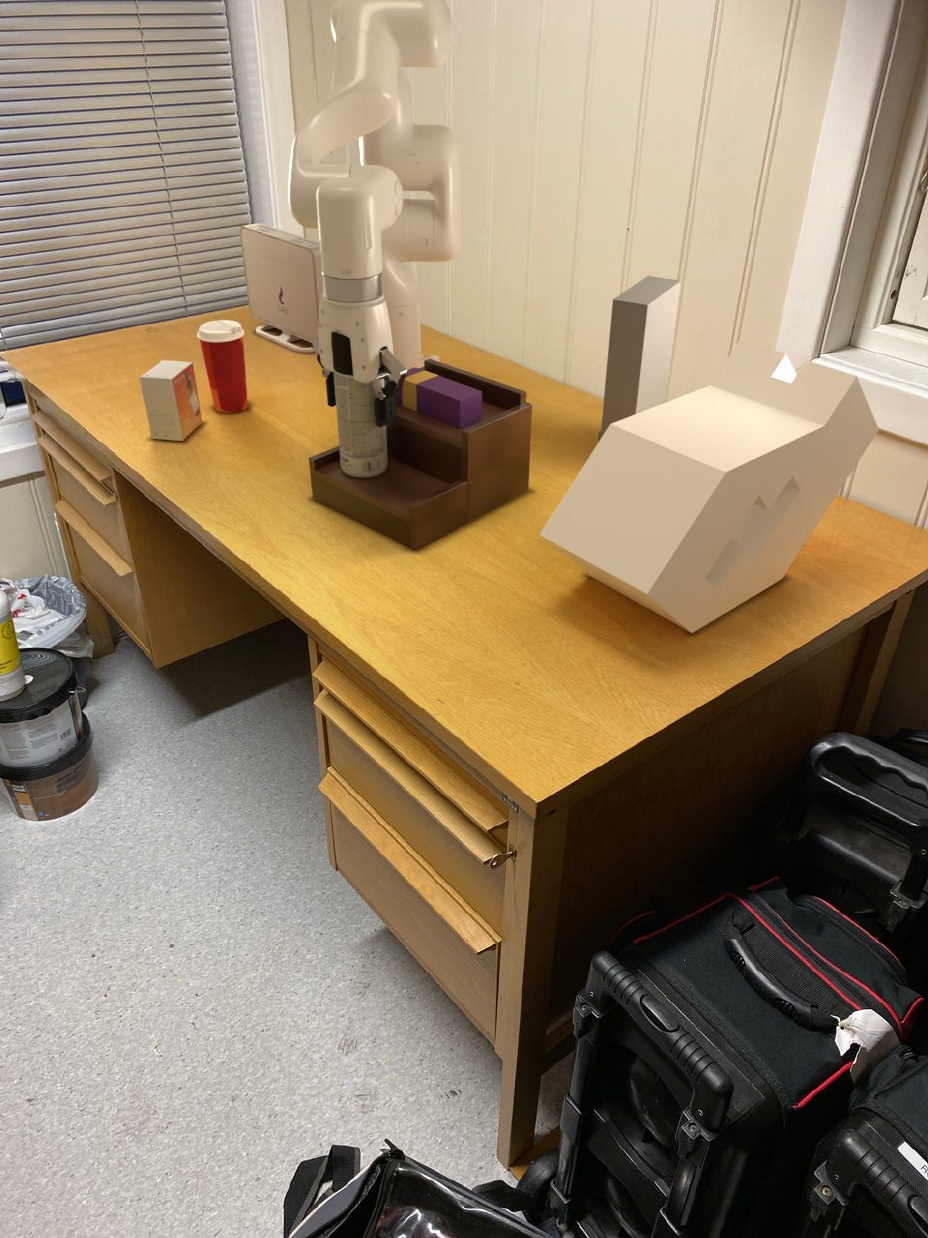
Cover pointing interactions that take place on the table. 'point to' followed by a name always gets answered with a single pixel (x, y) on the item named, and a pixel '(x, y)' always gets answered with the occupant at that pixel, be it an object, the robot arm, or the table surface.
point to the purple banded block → (440, 398)
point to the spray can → (356, 417)
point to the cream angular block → (715, 485)
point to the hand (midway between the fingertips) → (361, 413)
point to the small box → (171, 400)
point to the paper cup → (225, 364)
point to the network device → (283, 283)
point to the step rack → (436, 467)
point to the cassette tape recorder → (639, 348)
